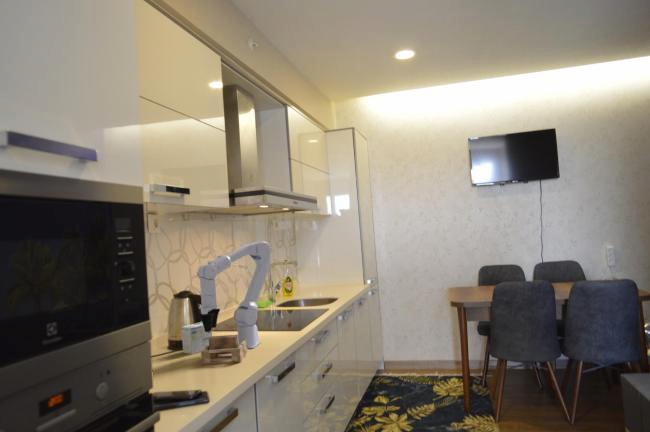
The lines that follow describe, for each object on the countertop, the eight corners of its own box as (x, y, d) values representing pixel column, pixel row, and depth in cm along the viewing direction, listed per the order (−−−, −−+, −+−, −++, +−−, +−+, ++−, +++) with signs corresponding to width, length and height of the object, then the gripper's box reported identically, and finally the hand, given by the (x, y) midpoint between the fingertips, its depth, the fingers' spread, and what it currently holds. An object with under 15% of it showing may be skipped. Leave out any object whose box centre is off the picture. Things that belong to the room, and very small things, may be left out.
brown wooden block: (209, 355, 176) (208, 338, 177) (212, 352, 180) (211, 336, 181) (236, 353, 176) (235, 336, 176) (238, 350, 180) (237, 334, 180)
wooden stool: (211, 355, 185) (211, 342, 185) (247, 352, 185) (246, 339, 185) (202, 365, 171) (201, 351, 171) (240, 362, 171) (239, 348, 171)
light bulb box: (204, 346, 202) (202, 321, 202) (213, 348, 197) (212, 322, 198) (182, 352, 193) (180, 326, 194) (192, 354, 189) (190, 327, 189)
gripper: (203, 293, 194) (205, 326, 193) (192, 298, 179) (195, 334, 179) (220, 292, 194) (222, 325, 193) (211, 296, 179) (213, 333, 179)
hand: (210, 329), depth 186 cm, fingers open, 7 cm apart
